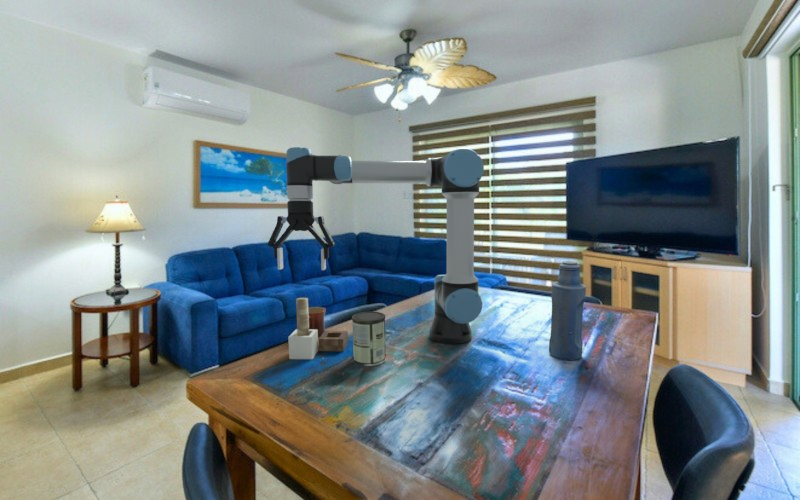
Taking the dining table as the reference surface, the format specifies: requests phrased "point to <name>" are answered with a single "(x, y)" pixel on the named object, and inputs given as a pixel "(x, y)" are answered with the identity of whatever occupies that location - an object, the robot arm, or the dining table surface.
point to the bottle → (567, 313)
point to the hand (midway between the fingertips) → (302, 269)
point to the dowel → (302, 317)
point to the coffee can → (369, 338)
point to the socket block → (333, 341)
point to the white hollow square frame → (303, 345)
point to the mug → (317, 319)
